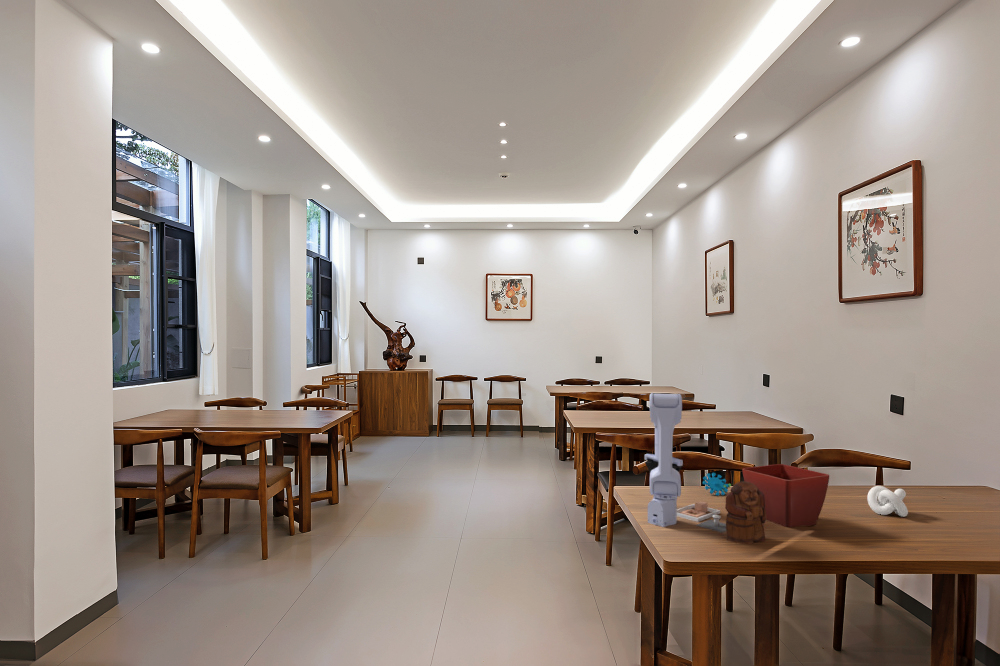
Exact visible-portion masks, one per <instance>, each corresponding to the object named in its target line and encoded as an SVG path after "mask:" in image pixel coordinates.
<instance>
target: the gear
mask: <svg viewBox="0 0 1000 666" xmlns="http://www.w3.org/2000/svg"><path fill="white" fill-rule="evenodd" d="M711 476H712V477H711ZM716 476H717V477H716ZM722 477H723V476H722V475H721V474H716V472H712V473H706V475H705V476H703V477H702V479H703V481H702V485H704V489H705V490H706V491H707V490H709V493H710V495H713V494H714V493H715V492H716V493H715V494H714V495H715V496H717V497H719V496H720V495H721V496H725V494H726V493H727V492H728V491H729V488H731V487H732V484H731V483H727V480H726V478H723V479H722ZM720 492H721V493H720Z"/></svg>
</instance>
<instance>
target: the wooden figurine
mask: <svg viewBox="0 0 1000 666" xmlns="http://www.w3.org/2000/svg"><path fill="white" fill-rule="evenodd" d="M724 508H725V510H726V512H727V513H726V517H725V518H726V519H725V524H726V531H725V532H726V539H727V541H729V542H732V543H736V544H744V545H745V544H746V545H751V544H752V545H753V544H754V543H759V542H760V543H761V542H765V541H766V534H765V527H764V524H765V522H766V521H767V520H766V509H765V497H764V494H763V493H762V492H761V491H759V489H758V488H757V486H756V485H754V484H752V483H750V482H746V481H744V480H743V481H739V482H736V483H735V484H733V486H731V487H730V492H728V493H727V494H726V496H725V507H724Z"/></svg>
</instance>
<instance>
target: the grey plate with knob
mask: <svg viewBox="0 0 1000 666" xmlns="http://www.w3.org/2000/svg"><path fill="white" fill-rule="evenodd" d="M712 518H713V520H712V519H707V520H704V521H703V522H700V523H698V524H695V526H697V527H700V528H703V529H708V530H710V531H714V532H718V533H723V534H724V533H725V532H726V522H725V523H724V522H721V521H720V519H721V515H719V514H718V515H713V516H712Z"/></svg>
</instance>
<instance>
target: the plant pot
mask: <svg viewBox="0 0 1000 666" xmlns="http://www.w3.org/2000/svg"><path fill="white" fill-rule="evenodd" d="M742 475H743V481H746V482H750V483H752V484H754V485H756V486H757V488H758V489H759V491H761V492H762V493H763V494H764V497H765V509H766V521H768V522H770V523H773V524H776V525H780V526H782V527H785V528H795V527H801V526H805V527H809V526H810V527H812V526H815V525H816V524H817V522H818V519H819V517H820V514H821V512H822V509H823V507H824V503H825V499H826V496H827V492H828V486H829V482H830V474H829V473H823V472H819V471H815V470H810V469H807V468H801V467H797V466H792V465H788V464H785V463H784V464H783V463H779V464H777V463H776V464H767V465H761V466H752V467H743V468H742Z"/></svg>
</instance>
